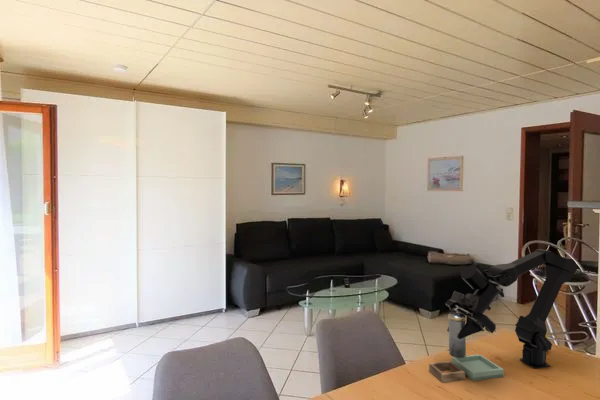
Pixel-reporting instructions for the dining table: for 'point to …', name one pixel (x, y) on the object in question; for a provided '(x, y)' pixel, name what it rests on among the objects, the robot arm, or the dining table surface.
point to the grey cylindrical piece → (455, 326)
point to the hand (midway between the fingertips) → (453, 334)
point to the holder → (446, 377)
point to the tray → (478, 367)
